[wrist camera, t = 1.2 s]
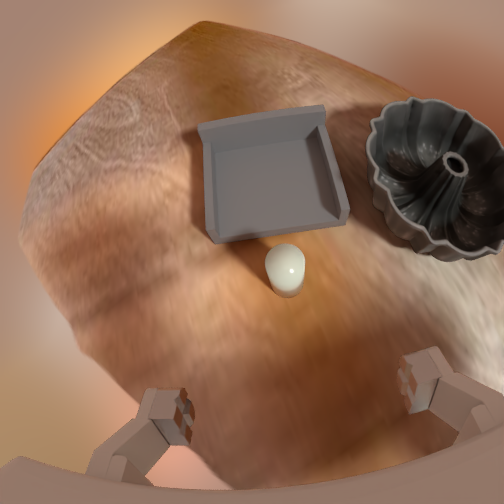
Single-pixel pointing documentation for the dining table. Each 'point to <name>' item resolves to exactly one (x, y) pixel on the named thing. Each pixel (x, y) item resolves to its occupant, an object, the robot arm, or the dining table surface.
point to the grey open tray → (270, 175)
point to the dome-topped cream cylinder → (285, 270)
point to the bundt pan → (438, 178)
